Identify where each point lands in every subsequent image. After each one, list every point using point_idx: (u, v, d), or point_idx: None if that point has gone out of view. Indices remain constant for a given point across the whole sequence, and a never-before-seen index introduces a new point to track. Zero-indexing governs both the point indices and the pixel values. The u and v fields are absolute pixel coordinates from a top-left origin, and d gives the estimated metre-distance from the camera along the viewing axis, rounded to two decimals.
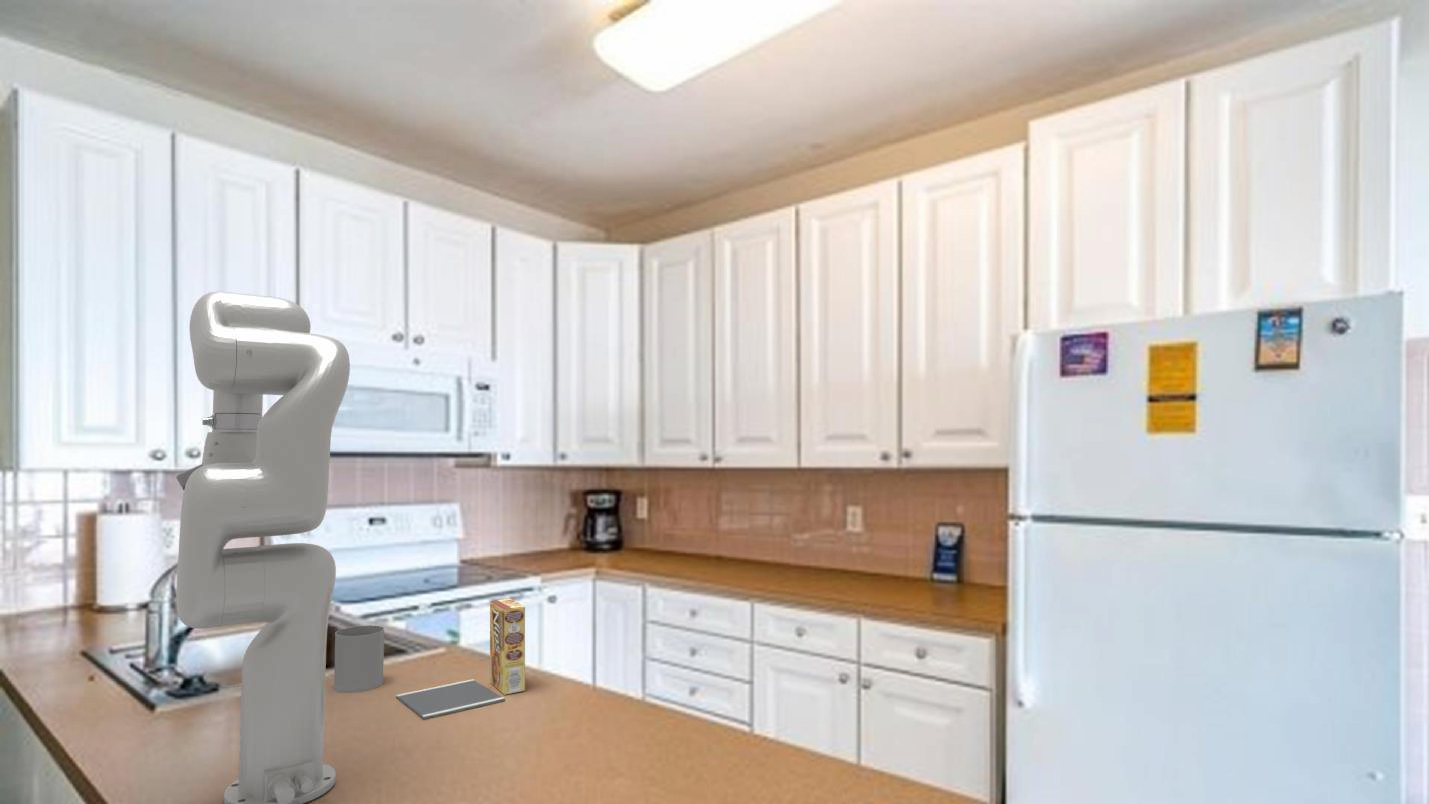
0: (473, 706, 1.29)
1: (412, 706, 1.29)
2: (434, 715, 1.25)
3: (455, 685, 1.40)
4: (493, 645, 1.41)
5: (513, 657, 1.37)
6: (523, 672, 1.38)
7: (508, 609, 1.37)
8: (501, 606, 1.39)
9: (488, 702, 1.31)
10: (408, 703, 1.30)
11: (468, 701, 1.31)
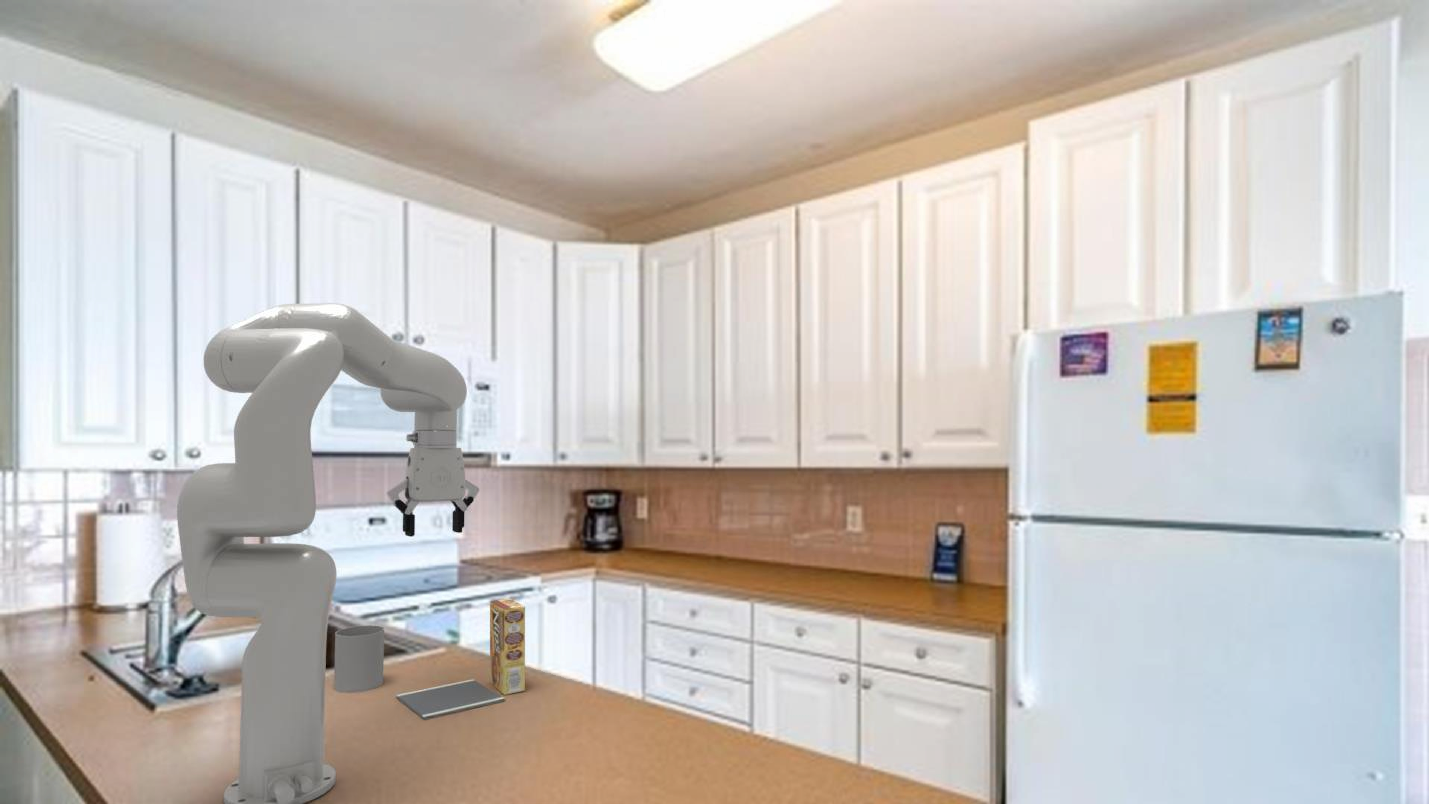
0: (473, 706, 1.29)
1: (412, 706, 1.29)
2: (434, 715, 1.25)
3: (455, 685, 1.40)
4: (493, 645, 1.41)
5: (513, 657, 1.37)
6: (523, 672, 1.38)
7: (508, 609, 1.37)
8: (501, 606, 1.39)
9: (488, 702, 1.31)
10: (408, 703, 1.30)
11: (468, 701, 1.31)
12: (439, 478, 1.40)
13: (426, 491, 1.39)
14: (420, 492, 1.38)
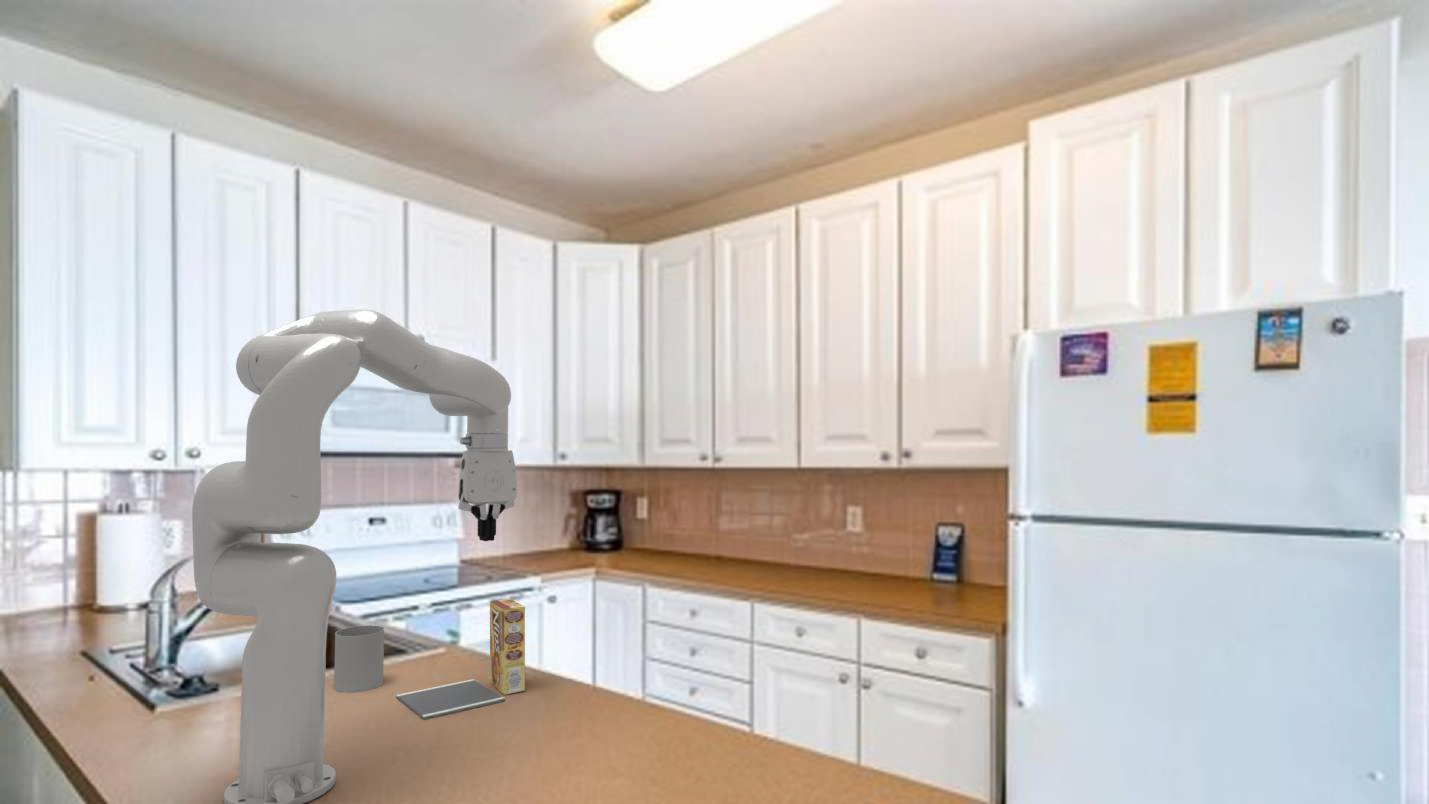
0: (473, 706, 1.29)
1: (412, 706, 1.29)
2: (434, 715, 1.25)
3: (455, 685, 1.40)
4: (493, 645, 1.41)
5: (513, 657, 1.37)
6: (523, 672, 1.38)
7: (508, 609, 1.37)
8: (501, 606, 1.39)
9: (488, 702, 1.31)
10: (408, 703, 1.30)
11: (468, 701, 1.31)
12: (493, 480, 1.43)
13: (480, 493, 1.41)
14: (475, 494, 1.40)
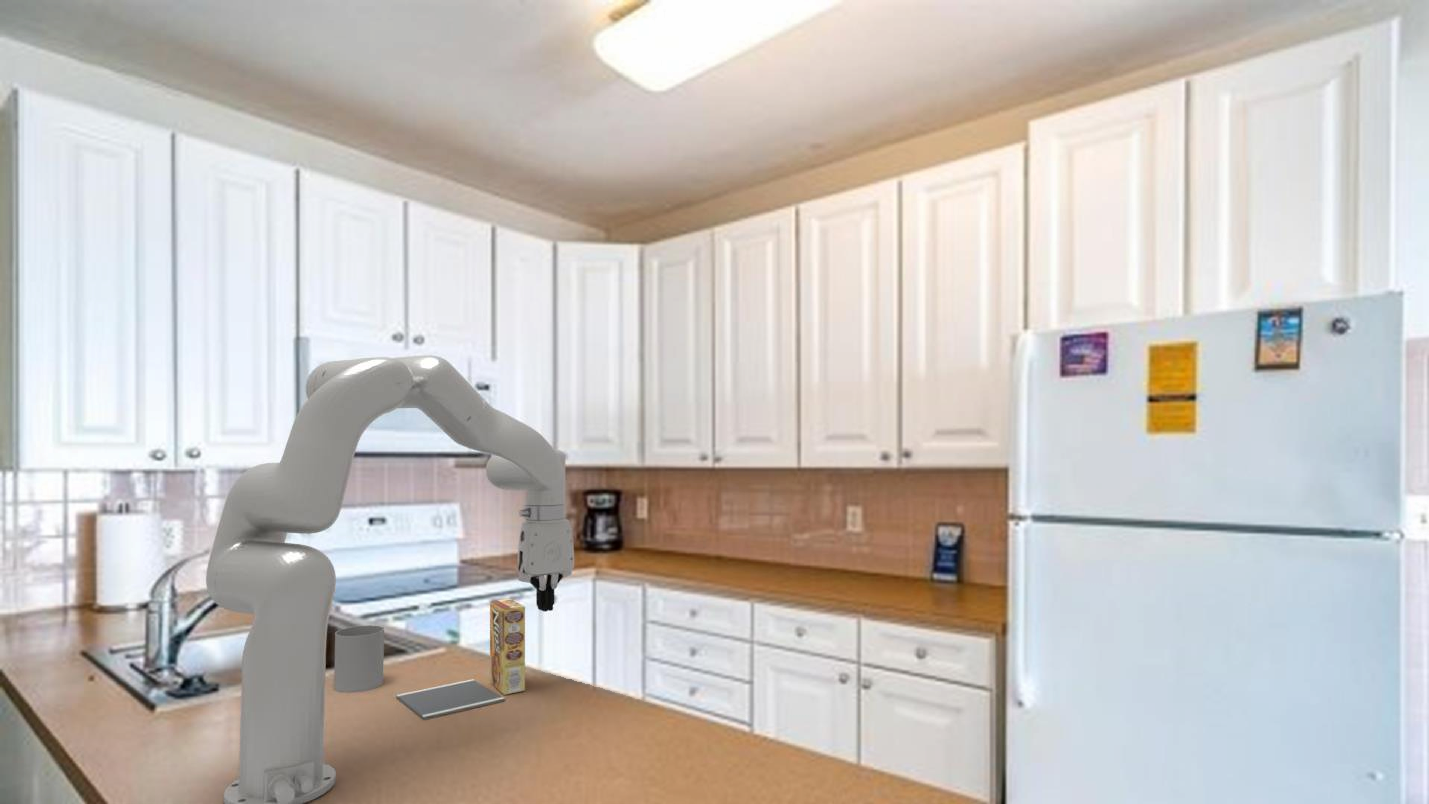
0: (473, 706, 1.29)
1: (412, 706, 1.29)
2: (434, 715, 1.25)
3: (455, 685, 1.40)
4: (493, 645, 1.41)
5: (513, 657, 1.37)
6: (523, 672, 1.38)
7: (508, 609, 1.37)
8: (501, 606, 1.39)
9: (488, 702, 1.31)
10: (408, 703, 1.30)
11: (468, 701, 1.31)
12: (551, 551, 1.44)
13: (540, 565, 1.43)
14: (535, 567, 1.42)
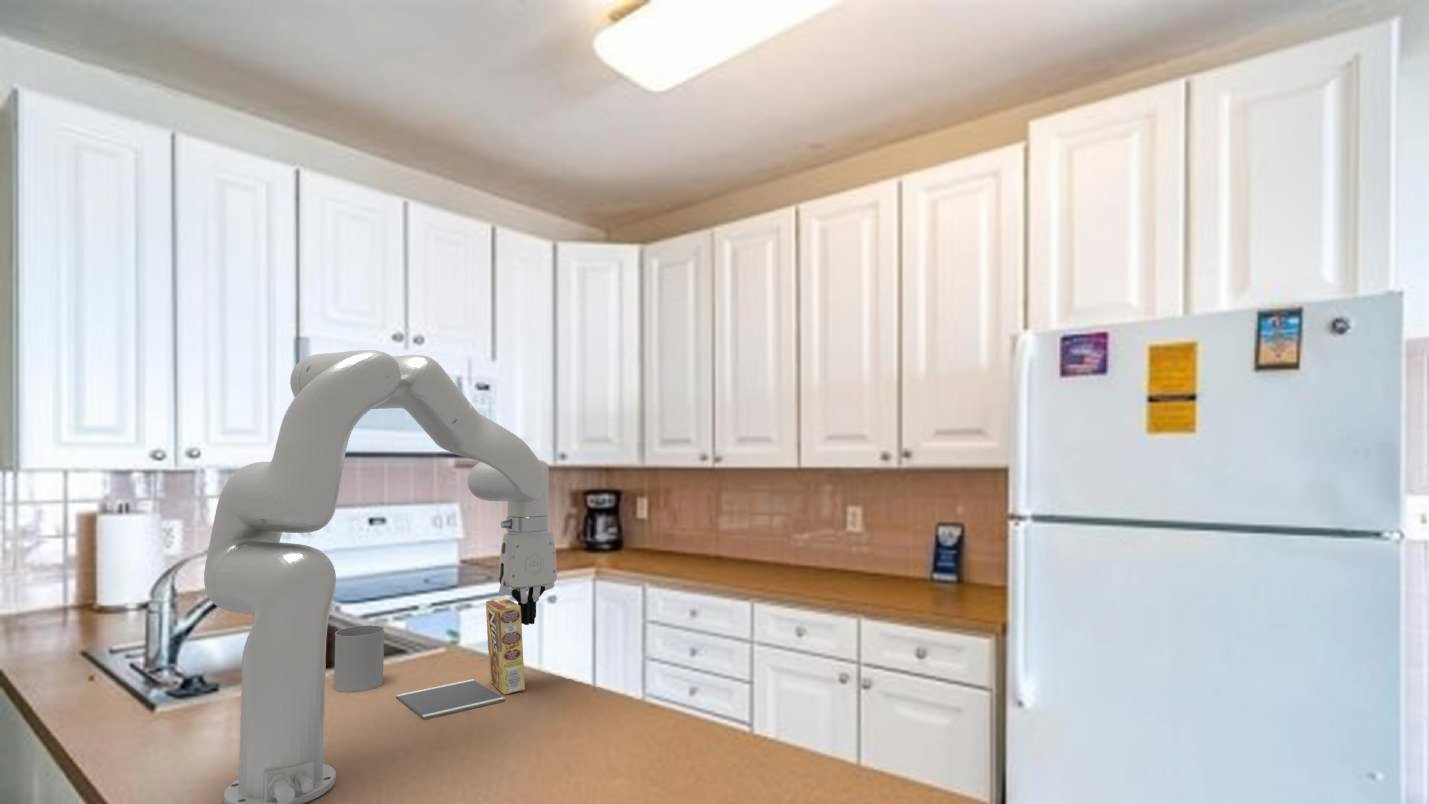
0: (473, 706, 1.29)
1: (412, 706, 1.29)
2: (434, 715, 1.25)
3: (455, 685, 1.40)
4: (491, 645, 1.41)
5: (511, 657, 1.37)
6: (522, 671, 1.38)
7: (504, 609, 1.37)
8: (497, 606, 1.39)
9: (488, 702, 1.31)
10: (408, 703, 1.30)
11: (468, 701, 1.31)
12: (533, 564, 1.42)
13: (521, 578, 1.40)
14: (516, 579, 1.40)
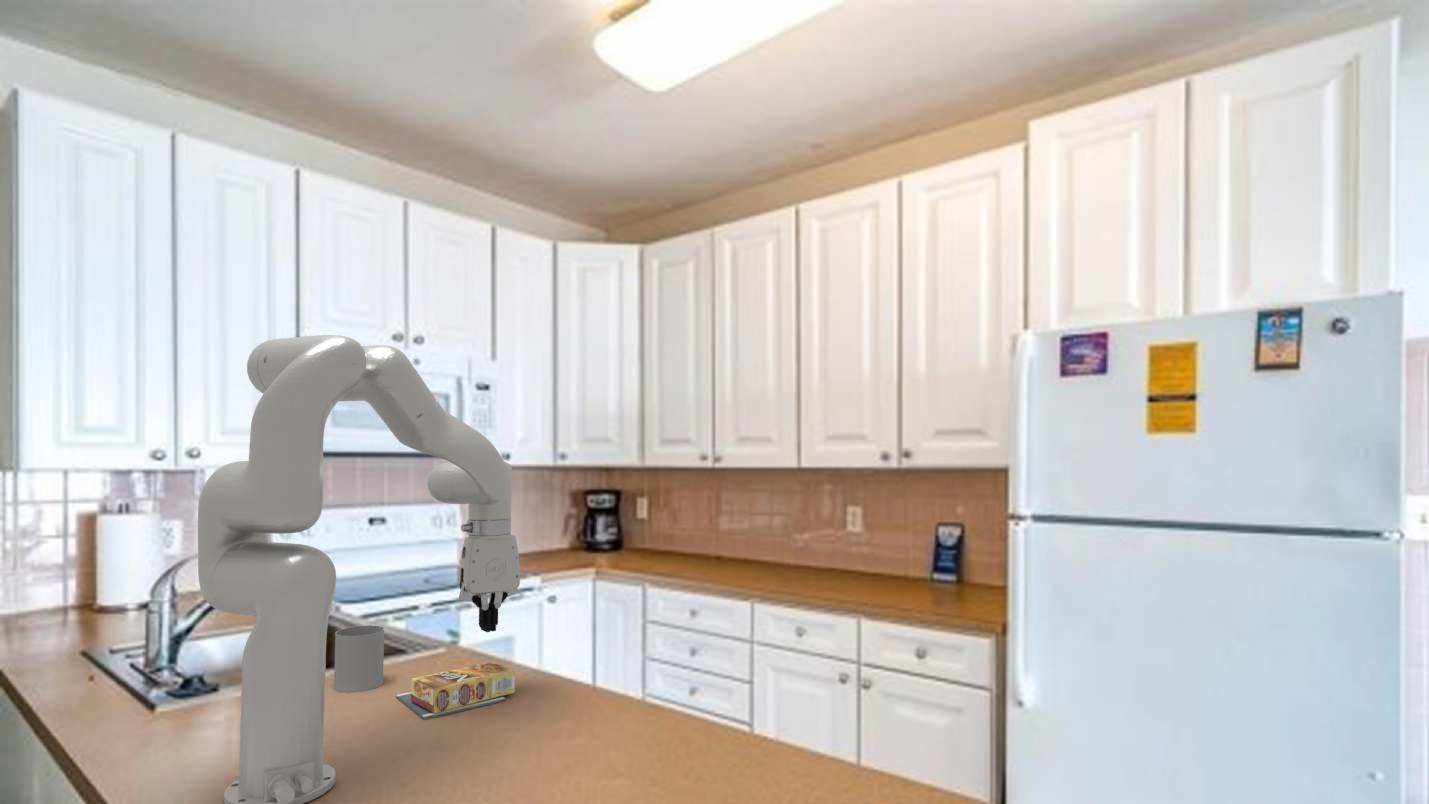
0: (473, 706, 1.29)
1: (412, 706, 1.29)
2: (434, 715, 1.25)
3: None
4: None
5: (482, 691, 1.31)
6: (498, 676, 1.33)
7: (434, 708, 1.25)
8: (426, 707, 1.27)
9: (488, 702, 1.31)
10: (408, 703, 1.30)
11: None
12: (494, 569, 1.37)
13: (482, 583, 1.35)
14: (476, 585, 1.35)
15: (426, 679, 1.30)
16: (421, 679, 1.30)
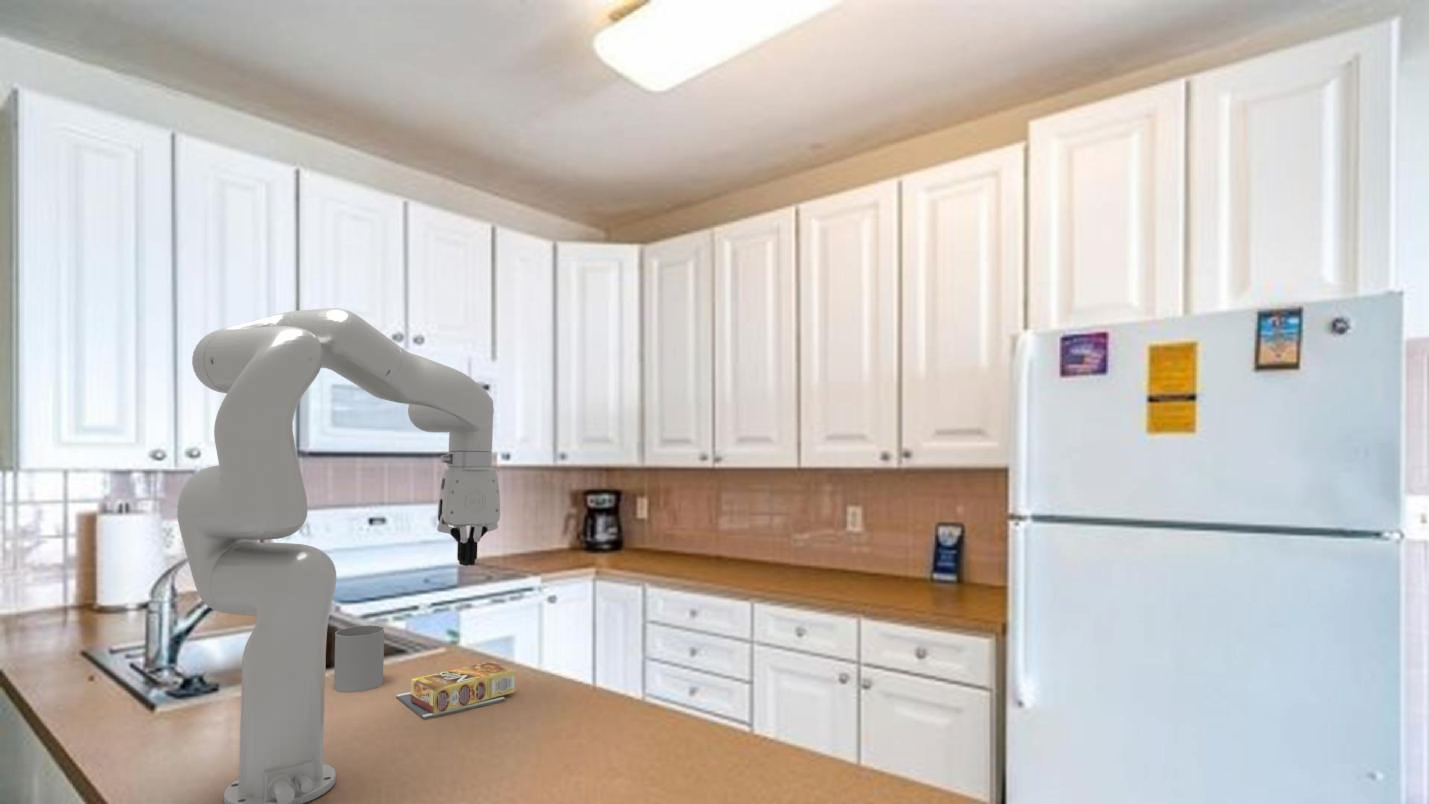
0: (473, 706, 1.29)
1: (412, 706, 1.29)
2: (434, 715, 1.25)
3: None
4: None
5: (482, 691, 1.31)
6: (498, 676, 1.33)
7: (434, 709, 1.25)
8: (426, 708, 1.27)
9: (488, 702, 1.31)
10: (408, 703, 1.30)
11: None
12: (474, 501, 1.35)
13: (460, 515, 1.33)
14: (454, 516, 1.33)
15: (426, 679, 1.30)
16: (421, 679, 1.30)
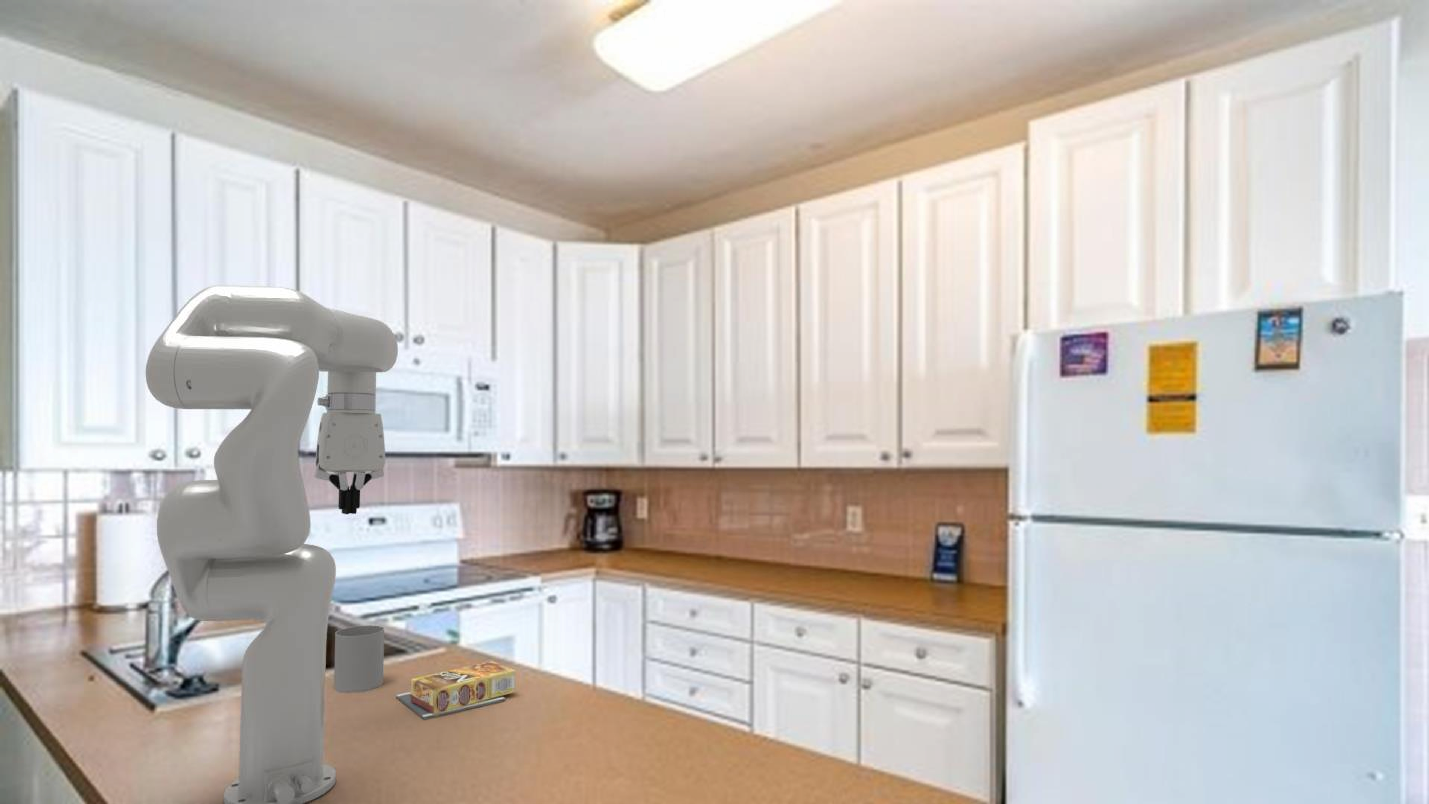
0: (473, 706, 1.29)
1: (412, 706, 1.29)
2: (434, 715, 1.25)
3: None
4: None
5: (482, 691, 1.31)
6: (498, 676, 1.33)
7: (434, 709, 1.25)
8: (426, 708, 1.27)
9: (488, 702, 1.31)
10: (408, 703, 1.30)
11: None
12: (354, 446, 1.27)
13: (338, 460, 1.26)
14: (331, 461, 1.25)
15: (426, 679, 1.30)
16: (421, 679, 1.30)
